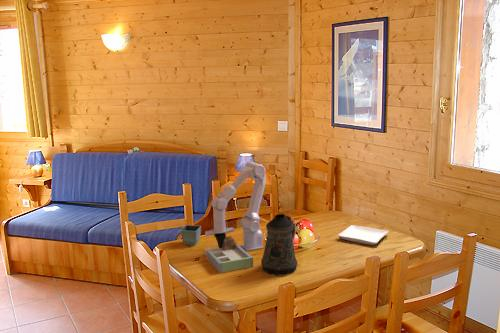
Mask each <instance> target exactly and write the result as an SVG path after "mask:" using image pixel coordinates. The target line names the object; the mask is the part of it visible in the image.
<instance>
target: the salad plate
mask: <svg viewBox="0 0 500 333" xmlns="http://www.w3.org/2000/svg"><path fill="white" fill-rule="evenodd" d="M388 233H389V230H386V229H379V228H374V227H368V226H362V225H361V226H360V225H355V224H352V225H349V226H348V227H347V228H346V229H344V230H343V231H341V232H340V233H338V235H337V236H338V237H339V238H340V239H342V240H346V241H348V242H353V243H357V244H365V245H369V246H370V245H371V246H374V245H377V244H378V242H379V241H380V240H382V239H383V238H384V237H385V236H386V235H387V234H388Z"/></svg>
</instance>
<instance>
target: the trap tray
mask: <svg viewBox="0 0 500 333" xmlns="http://www.w3.org/2000/svg"><path fill="white" fill-rule="evenodd" d="M204 254H205V255H206V260H208V262H209V263H210V264H211V265H212V267H214V269H215V270H217V271H218V272H219V273H220V274H222V273H226V272H232V271H238V270H242V269H248V268H253V267H254V257H253V256H252V255H251V254H249V253H248V252H247V251H246V250H245V249H244V248H243V247H241V245H239V244H238V243H237V242H235V241H234V249H231V250H224V249H223V248H219V247H218V246H215V247H214V246H213V247H208V248H207V247H206V248H204Z"/></svg>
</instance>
